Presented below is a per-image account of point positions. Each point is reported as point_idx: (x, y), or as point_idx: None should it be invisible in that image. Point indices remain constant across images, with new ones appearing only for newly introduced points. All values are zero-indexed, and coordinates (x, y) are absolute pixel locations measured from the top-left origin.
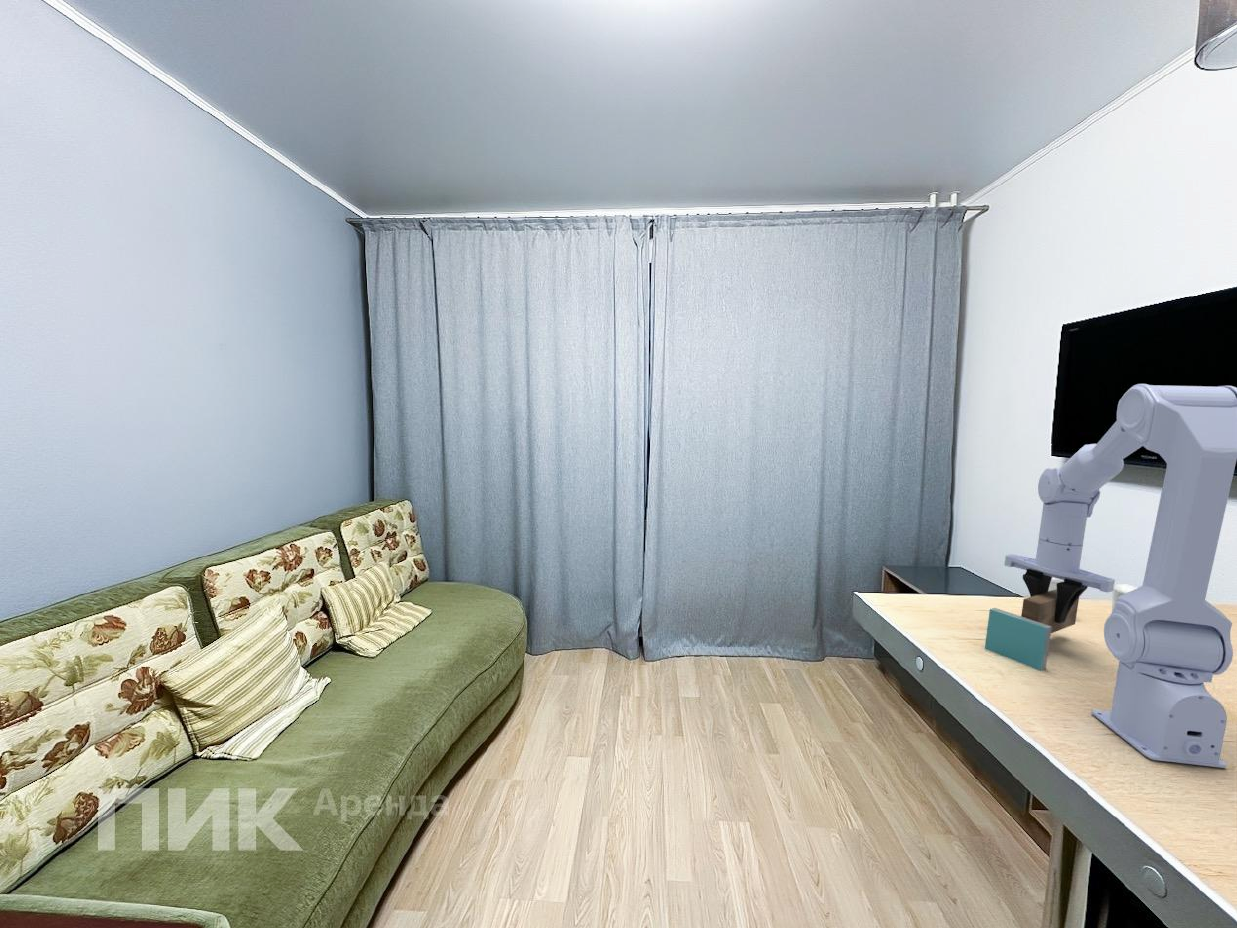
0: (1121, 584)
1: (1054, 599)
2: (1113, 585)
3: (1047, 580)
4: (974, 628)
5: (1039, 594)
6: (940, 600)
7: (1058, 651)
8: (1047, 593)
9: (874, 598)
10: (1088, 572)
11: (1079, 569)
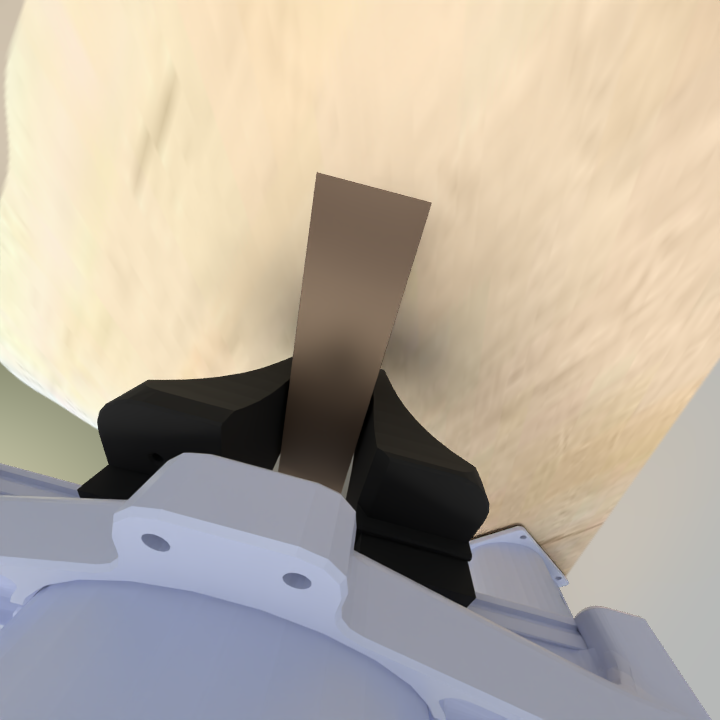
0: None
1: (340, 492)
2: (686, 695)
3: (247, 451)
4: (219, 360)
5: (280, 467)
6: (36, 190)
7: (385, 356)
8: (296, 429)
9: (9, 348)
10: (532, 715)
11: (435, 702)
